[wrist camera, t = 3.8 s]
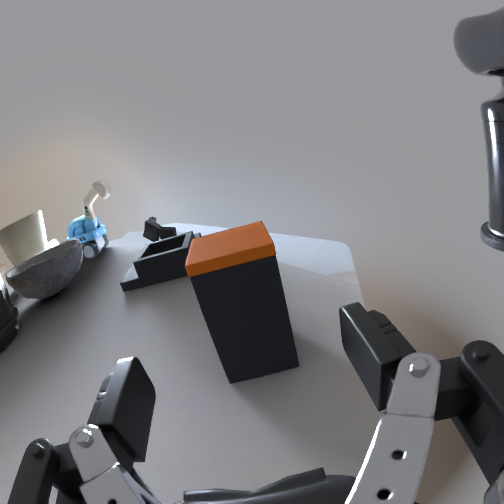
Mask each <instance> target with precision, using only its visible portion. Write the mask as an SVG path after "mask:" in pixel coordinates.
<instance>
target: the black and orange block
mask: <svg viewBox="0 0 504 504" xmlns="http://www.w3.org/2000/svg"><path fill="white" fill-rule="evenodd" d="M185 268H186V271H187V274H188V277H190V280H191V283H192V286H193V288H194V291H195V294H196V297H197V300H198V303H199V305H200V308H201V311H202V314H203V316H204V319H205V322H206V324H207V327H208V330H209V332H210V335H211V338H212V340H213V343H214V345H215V348H216V350H217V353H218V356H219V358H220V361H221V363H222V366H223V368H224V371H225V373H226V376H227V378H228V380H229V383H234V382H239V381H243V380H247V379H252V378H256V377H260V376H264V375H268V374H272V373H276V372H280V371H284V370H287V369H291V368H295V367H298V366H299V362H298V357H297V352H296V347H295V342H294V338H293V333H292V328H291V323H290V319H289V314H288V309H287V305H286V300H285V295H284V291H283V286H282V282H281V277H280V273H279V268H278V264H277V259H276V251H275V246H274V243H273V241H272V239H271V237H270V235H269V234H268V232H267V230H266V228H265V226H264V224H263V223H262V221H260V222H256V223H252V224H248V225H244V226H241V227H237V228H232V229H229V230H225V231H221V232H217V233H213V234H210V235H206V236H202V237H199V238H195V239H192V242H191V246H190V249H189V253H188V257H187V260H186V264H185Z"/></svg>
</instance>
